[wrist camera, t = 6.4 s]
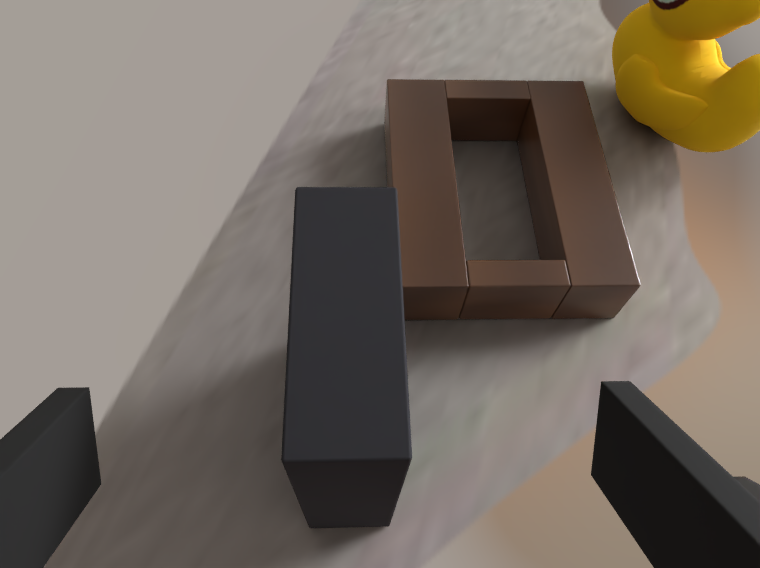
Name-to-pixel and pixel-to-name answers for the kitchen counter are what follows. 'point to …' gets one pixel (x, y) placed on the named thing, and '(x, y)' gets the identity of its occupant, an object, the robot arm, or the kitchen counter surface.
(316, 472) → the dark grey rectangular block
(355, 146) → the kitchen counter surface
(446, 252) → the seat base
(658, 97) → the duckling
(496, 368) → the kitchen counter surface
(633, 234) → the kitchen counter surface
